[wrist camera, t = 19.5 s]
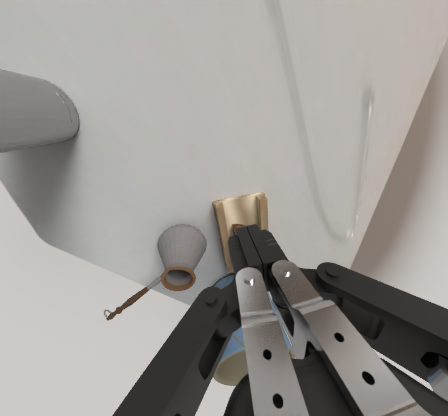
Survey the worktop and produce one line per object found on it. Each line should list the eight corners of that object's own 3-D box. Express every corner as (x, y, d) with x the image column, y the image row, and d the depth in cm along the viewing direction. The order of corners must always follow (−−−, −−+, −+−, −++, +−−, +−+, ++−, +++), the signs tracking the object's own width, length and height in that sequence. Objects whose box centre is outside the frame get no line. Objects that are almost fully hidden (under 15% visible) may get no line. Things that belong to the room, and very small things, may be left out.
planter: (227, 314, 62) (239, 392, 45) (195, 288, 54) (194, 372, 36) (274, 290, 59) (306, 363, 42) (248, 258, 51) (274, 333, 33)
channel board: (225, 262, 50) (228, 277, 46) (213, 201, 41) (215, 212, 36) (265, 254, 51) (272, 267, 46) (262, 191, 41) (271, 201, 37)
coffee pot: (192, 211, 41) (189, 256, 28) (213, 244, 47) (219, 295, 33) (115, 247, 43) (79, 305, 30) (144, 275, 48) (124, 334, 35)
